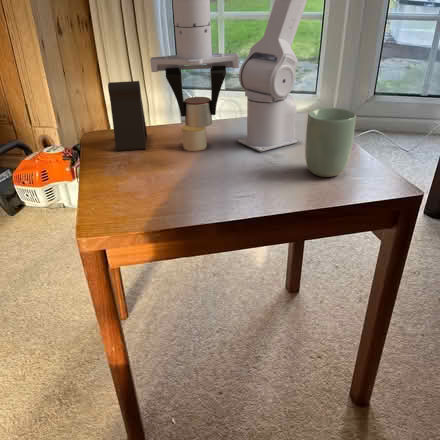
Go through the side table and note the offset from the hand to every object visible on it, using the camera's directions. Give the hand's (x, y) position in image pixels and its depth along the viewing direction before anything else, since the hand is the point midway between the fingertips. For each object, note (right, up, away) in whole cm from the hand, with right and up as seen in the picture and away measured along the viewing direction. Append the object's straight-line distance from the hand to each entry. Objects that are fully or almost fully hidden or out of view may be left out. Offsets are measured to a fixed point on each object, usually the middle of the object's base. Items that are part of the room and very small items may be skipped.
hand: (198, 114), depth 80 cm
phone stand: (-15, 0, +16) cm, 21 cm away
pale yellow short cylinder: (-1, -2, +13) cm, 13 cm away
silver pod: (0, -1, +1) cm, 2 cm away
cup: (+22, -11, 0) cm, 25 cm away
